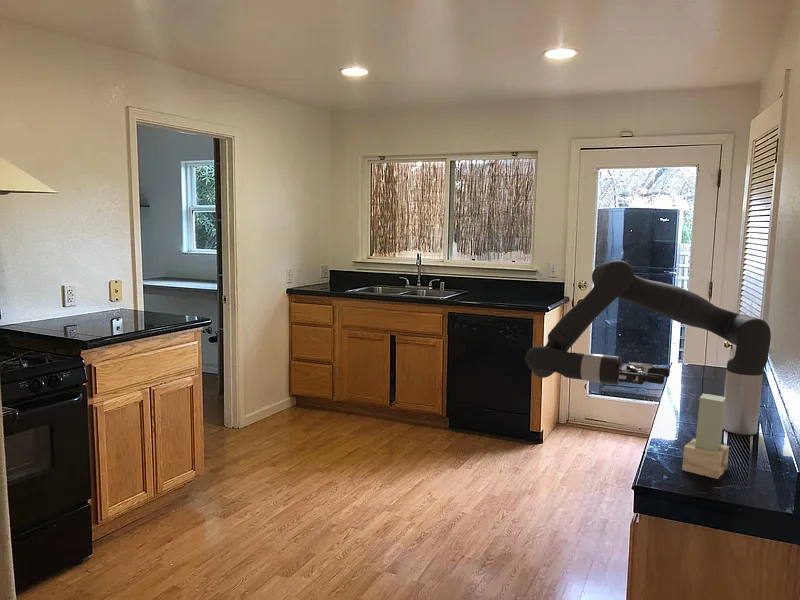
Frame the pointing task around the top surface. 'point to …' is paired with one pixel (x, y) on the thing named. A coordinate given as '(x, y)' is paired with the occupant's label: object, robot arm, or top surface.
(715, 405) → the sage block
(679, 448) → the top surface
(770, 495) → the top surface
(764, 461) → the top surface
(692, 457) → the birch base block
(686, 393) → the top surface
